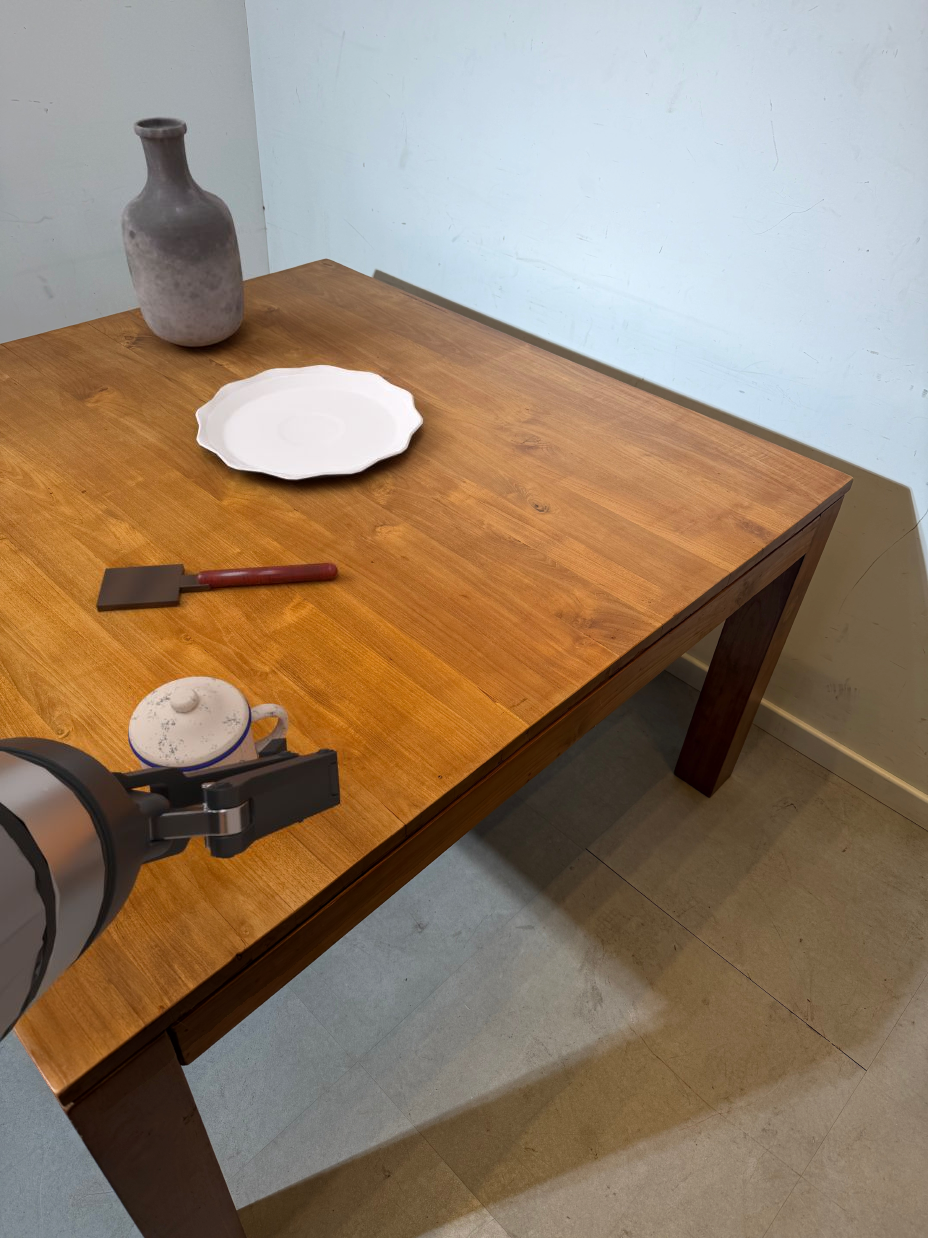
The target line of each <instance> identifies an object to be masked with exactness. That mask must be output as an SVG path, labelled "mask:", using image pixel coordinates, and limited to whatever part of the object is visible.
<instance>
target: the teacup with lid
mask: <svg viewBox="0 0 928 1238" xmlns="http://www.w3.org/2000/svg"><path fill="white" fill-rule="evenodd" d="M269 718H277V722H276V725H275V727H274V729H272V731H271V732H270V733H269V734H268V735H266V736H265V737H263V738H261V739H259V740H257V741H255V739H254V735H253V730H252V725H251V724H253V723H256V722H258V721H261V720H264V719H269ZM289 726H290V718H289V715H288V713H287V711H286V709H285V708H284V707H283V706H281V705H280V704H276V703H263V704H259V705H256V706H252V707H251V706H250V703H249V701H248V700H247V698H246V697H245V695H244V694H242V692H241V690H240V689H238V688H237V687H235V686H234V685H233V684H231V683H229V682H227V681H225V680H222V679H219V678H215V677H212V676H211V677H210V676H188V677H182V678H178V679H175V680H172V681H169V682H166V683H165V684H162V685H160V686H159V687H157V688H156V689H154V690H153V691H151V692H150V693H149V694H147V695H146V696H145V697H144V698H143V699H142V700H141V701H140V702H139V704H138V705H137V706H136V708H135V709H134V711H133V713H132V715H131V717H130V720H129V724H128V730H127V739H128V744H129V747H130V750H131V751H132V753H133V754H134V755H135V757H136V758H137V759H138V762H139V764H140V767H141V770H142V769H147V768H153V767H167V768H179V769H180V770H182V772H183V773H184V774H185V773H190V772H195V771H200V770H205V769H209V768H214V767H219V766H224V765H229V764H234V763H239V762H244V761H249V760H253V759H258V757H259V752H260V751H261V750H262V749H263V748H264V747H265V746H266V745H267V744H268V743H269V742H270V741H271V740H272V739H279V738H286V735H287V733H288V730H289V728H290V727H289ZM147 787H148V790H150V787H149V786H147Z"/></svg>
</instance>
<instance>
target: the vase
mask: <svg viewBox="0 0 928 1238" xmlns="http://www.w3.org/2000/svg"><path fill="white" fill-rule="evenodd" d="M133 130H134V133H135V135H137V136H138V137H139V139H140V142H141V146H142V149H143V153H144V158H145V164H146V171H147V176H146V182H145V185H144V187H143V188H142V190H141V192H139V193H138V194H136V195H134V196H132V197H131V198H129V200H128V201H126V203H124V206H123V208H122V211H121V217H120V224H121V225H120V226H121V227H120V228H121V235H122V241H123V247H124V252H125V257H126V263H127V265H128V266H127V267H128V270H129V274H130V279H131V282H132V286H133V289H134V293H135V296H136V300H137V304H138V306H139V310H140V312H141V314H142V317H143V319H144V321H145V324H146V325H147V327H148V328H149V329H150V330H151V332H152V333H153V334H154V335H156V337H158V338H160V339H162V340H163V341H166V342H168V343H171V344H173V345H178V346H184V347H190V348H191V347H195V348H196V347H197V348H198V347H206V346H211V345H214V344H217V343H220V342H222V341H224V340H226V339H228V338H229V337H231V336H233V335H234V334H235V333H236V332H237V331H238V329H239V328H240V327H241V325H242V323H243V319H244V315H245V290H244V289H245V288H244V276H243V269H242V261H241V253H240V247H239V241H238V236H237V235H238V234H237V231H236V226H235V222H234V218H233V215H232V212H231V209H229V206H228V205H227V204H226V203H225V201H224V200H223V199H222V198H221V197H219V196H218V195H216V194H214V193H212V192H210V191H207V190H206V189H203V188H202V187H201V186H200V185H199V184H198V183H197V182H196V180H195V179H194V178H193V176H192V174H191V171H190V169H189V164H188V160H187V159H188V158H187V151H186V143H185V134H187V132H188V126H187V123H186V121H185V120H182V119H180V118H176V117H165V116H155V117H147V118H141V119H138V120H136V121H135V122H134V123H133Z"/></svg>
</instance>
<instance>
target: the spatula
mask: <svg viewBox="0 0 928 1238" xmlns="http://www.w3.org/2000/svg"><path fill="white" fill-rule="evenodd" d="M338 574H339V568H338V567H337V565H336V564H334V563H332V562H320V563H319V562H318V563H305V564H303V563H302V564H286V565H271V566H257V567H239V568H238V567H237V568H223V569H207V570H205V569H204V570H201V571H199V572H198V573H190V574H189V573H188V574H185V565H184V563H174V564H156V565H140V566H124V567H107V568H105V570H104V573H103V577H102V581H101V585H100V589H99V592H98V597H97V600H96V605H95V607H96V610H97V612H108V611H109V612H110V611H122V610H138V609H151V608H166V607H179V606H180V602H181V596H182V593H190V592H191V593H192V592H205V591H207V592H208V591H211V588H220V587H221V588H222V587H233V586H234V587H236V586H237V587H238V586H253V585H268V584H269V585H270V584H283V583H299V582H312V581H314V582H315V581H325V580H326V581H328V580H329V581H330V580H333V579H335V578H336V577H337V576H338Z"/></svg>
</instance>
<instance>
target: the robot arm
mask: <svg viewBox="0 0 928 1238" xmlns="http://www.w3.org/2000/svg"><path fill="white" fill-rule="evenodd" d="M338 761H339V760H338V751H337V750H335V749H330V748H319V749H318V750H317V751H316V752H315V751H314V752H311V753H308V754H300V753H299V752H292V750H288V741H287V738H286V737H284V738H279V739H272V740H271V741H270V742H269V743H268V744H267V745H266V746H265V747H264V748H263V749H262V750H261V751H260V752H259V756H258V757H257V759H253V760H249V761H244V762H239V763H234V764H229V765H224V766H219V767H214V768H209V769H205V770H200V771H195V772H190V773H185V774H184V773H183V772H182V770H180V769H179V768H167V767H153V768H147V769H142V768H141V769H138V770H137V769H136V770H132V771H127V772H121V771H110V770H109V768H108V767H106V766H105V765H104V764H103V763H101V762H100V760H98V759H96V758H95V757H94V756H92V755H91V754H89V753H87V752H85V751H83V750H82V749H80V748H78V747H76V746H73V745H71V744H68V743H65V742H62V741H58V740H54V739H49V738H44V737H35V736H16V737H7V738H1V739H0V1043H1V1042H2V1041H4V1039H5V1038H6V1037H7V1036H8V1035H9V1034H10V1033H11V1031H12V1030H13V1029H14V1028H15V1026H16V1024H17V1023H18V1022H19V1020H20V1019H21V1018H22V1017H23V1016H24V1015H26V1014H27V1012H28V1011H29V1010H30V1009H31V1008H32V1007H33V1006H34V1005H35V1004H36V1003H37V1002H38V1001H39V1000H40V998H41V997H42V996H43V995H44V994H45V993H46V992H47V991H48V990H49V989H50V988H51V987H52V986H53V984H54V983H55V982H56V981H58V979H59V978H60V977H61V976H62V975H63V974H64V973H65V972H66V971H67V970H68V969H69V968H70V967H72V966H73V964H75V963H76V962H77V961H78V960H79V959H80V958H81V957H82V956H83V955H84V954H85V952H87V950H88V949H89V948H90V947H91V946H92V945H93V944H94V943H95V942H96V941H97V939H99V937H100V936H101V935H102V934H103V933H104V932H105V931H106V930H107V928H108V927H109V926H110V925H111V924H112V923H113V922H114V920H115V919H116V917H117V916H118V915H119V914H120V912H121V911H122V909H123V907H124V906H125V905H126V903H127V901H128V899H129V897H130V895H131V893H132V891H133V889H134V886H135V884H136V882H137V880H138V876H139V874H140V871H141V868H142V866H144V865H146V864H147V865H148V864H150V863H154V862H156V861H160V860H164V859H167V858H170V857H173V856H177V855H180V854H181V853H183V852H184V851H186V849H187V847H188V844H189V843H190V840H192V838H198V837H199V838H201V837H203V840H204V848H205V849H206V850H207V851H208V850H209V853H210V855H209V856H210V857H212V858H216V859H223V860H224V859H225V860H227V859H232V858H234V857H235V856H237V855H240V854H243V853H245V852H246V850H247V849H249V848H250V847H251V846H252V845H253V844H254V843H255V842H256V841H258V840H260V839H261V840H262V838H265V837H267V836H270V835H273V834H274V833H277V832H279V831H282V830H283V829H285V828H288V827H291V826H293V825H296V824H300V823H304V821H305V820H306V819H309V818H312V817H314V816H316V815H318V814H320V813H323V812H325V811H328V810H331V809H334V807H337V806H339V805H341V788H340V775H339V762H338ZM148 786H149V787H150V789H149V791H144V790H138V789H139V788H144V787H148ZM149 787H148V788H149Z"/></svg>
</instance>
